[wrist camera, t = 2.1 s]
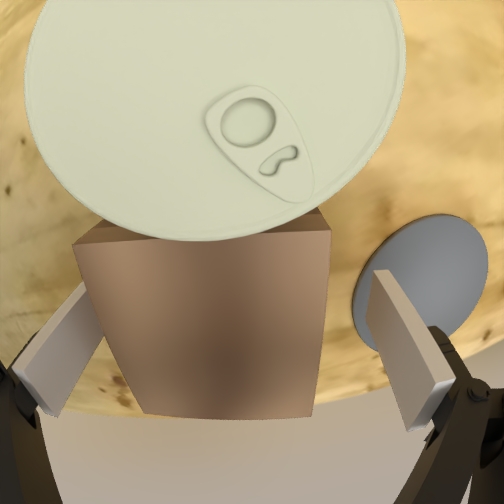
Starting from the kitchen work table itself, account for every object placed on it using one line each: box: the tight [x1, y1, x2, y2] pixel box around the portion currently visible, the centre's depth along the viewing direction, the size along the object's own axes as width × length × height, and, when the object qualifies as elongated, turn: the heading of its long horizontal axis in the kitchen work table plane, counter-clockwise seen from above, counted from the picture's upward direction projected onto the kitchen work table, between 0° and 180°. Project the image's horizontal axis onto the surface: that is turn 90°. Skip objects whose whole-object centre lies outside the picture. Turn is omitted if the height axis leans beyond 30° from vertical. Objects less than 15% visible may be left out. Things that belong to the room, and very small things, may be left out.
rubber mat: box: [352, 214, 488, 352], centre depth 20 cm, size 13×13×1 cm
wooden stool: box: [72, 207, 331, 420], centre depth 15 cm, size 8×9×10 cm
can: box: [24, 0, 406, 241], centre depth 9 cm, size 9×9×12 cm
